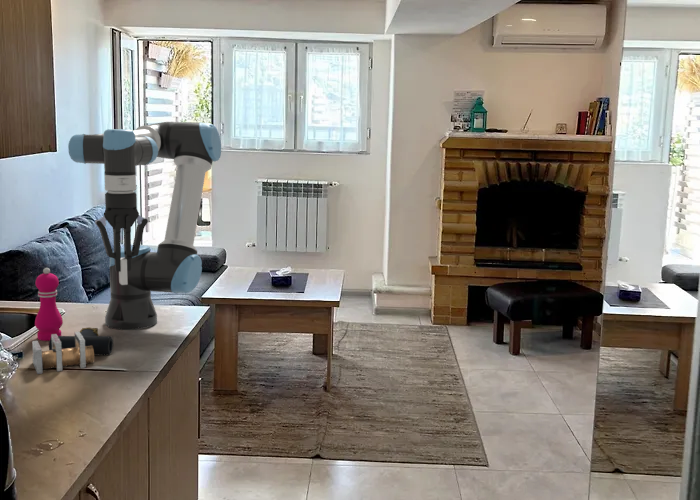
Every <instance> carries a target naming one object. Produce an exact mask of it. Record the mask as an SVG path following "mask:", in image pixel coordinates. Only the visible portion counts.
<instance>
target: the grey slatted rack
mask: <svg viewBox="0 0 700 500" xmlns="http://www.w3.org/2000/svg"><path fill="white" fill-rule="evenodd" d="M51 336H52V349H56V367H55V368H56V372H63V367H62V349H61V341H60V339H59V338H58V336H57V334H51ZM73 336H75V347H79V354H80V364H79V368H80V369H86V368H87V366H86V358H85V339H84V338H83V336H82V335H81V333H80V331H74V334H73ZM31 343H32V344H31V345H32V365H33V366H34V369H35V372H36V374H37V375H41V374H44V372H43V370H44V369H43V368H42V351H43V350H42V348H41V345H40V343H39V341H38V340H32V342H31Z"/></svg>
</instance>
